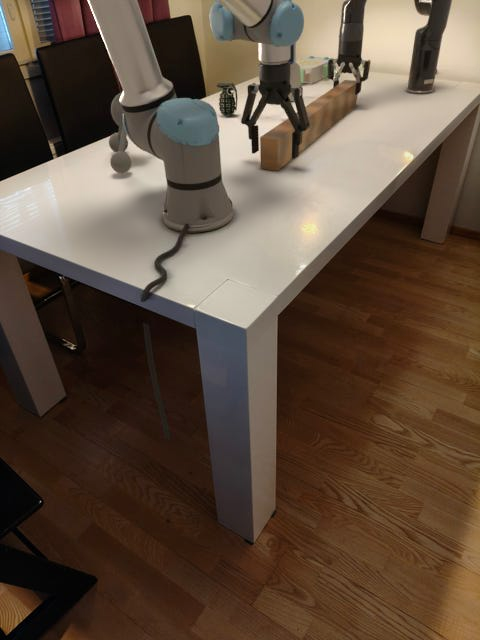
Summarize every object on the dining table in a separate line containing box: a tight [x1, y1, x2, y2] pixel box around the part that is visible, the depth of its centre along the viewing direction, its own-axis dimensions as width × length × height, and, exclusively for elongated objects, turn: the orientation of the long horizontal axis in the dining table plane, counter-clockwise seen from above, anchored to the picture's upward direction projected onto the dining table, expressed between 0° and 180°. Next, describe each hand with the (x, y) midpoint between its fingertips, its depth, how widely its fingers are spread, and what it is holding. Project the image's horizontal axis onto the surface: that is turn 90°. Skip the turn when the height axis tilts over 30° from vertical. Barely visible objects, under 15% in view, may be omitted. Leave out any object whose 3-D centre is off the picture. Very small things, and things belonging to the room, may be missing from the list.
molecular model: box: [106, 49, 133, 174], centre depth 130 cm, size 24×22×30 cm
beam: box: [259, 79, 359, 172], centre depth 148 cm, size 66×5×8 cm, turn 152°
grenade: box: [215, 82, 238, 117], centre depth 166 cm, size 7×6×10 cm
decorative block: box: [295, 55, 337, 85], centre depth 207 cm, size 26×6×20 cm
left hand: (274, 154), depth 128 cm, fingers open, 11 cm apart
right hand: (346, 93), depth 167 cm, fingers open, 6 cm apart
